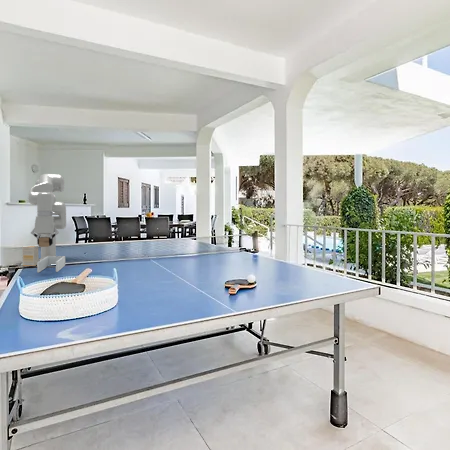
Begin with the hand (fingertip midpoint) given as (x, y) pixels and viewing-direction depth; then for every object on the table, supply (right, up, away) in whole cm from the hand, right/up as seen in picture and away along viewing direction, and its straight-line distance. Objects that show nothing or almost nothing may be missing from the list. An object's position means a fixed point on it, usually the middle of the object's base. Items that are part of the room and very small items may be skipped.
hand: (45, 245), depth 199 cm
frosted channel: (-5, -16, +17) cm, 24 cm away
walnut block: (0, -1, 0) cm, 1 cm away
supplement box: (-22, -15, +24) cm, 36 cm away
